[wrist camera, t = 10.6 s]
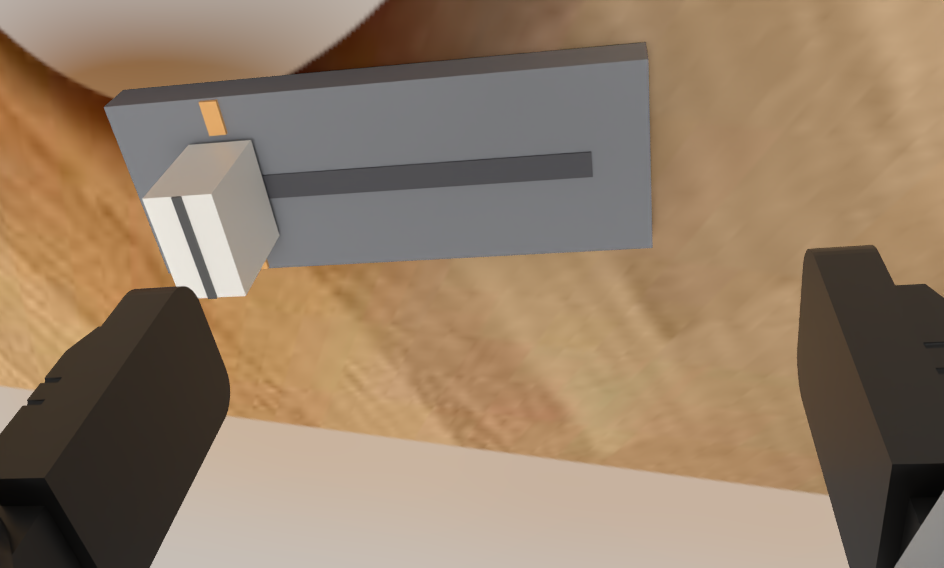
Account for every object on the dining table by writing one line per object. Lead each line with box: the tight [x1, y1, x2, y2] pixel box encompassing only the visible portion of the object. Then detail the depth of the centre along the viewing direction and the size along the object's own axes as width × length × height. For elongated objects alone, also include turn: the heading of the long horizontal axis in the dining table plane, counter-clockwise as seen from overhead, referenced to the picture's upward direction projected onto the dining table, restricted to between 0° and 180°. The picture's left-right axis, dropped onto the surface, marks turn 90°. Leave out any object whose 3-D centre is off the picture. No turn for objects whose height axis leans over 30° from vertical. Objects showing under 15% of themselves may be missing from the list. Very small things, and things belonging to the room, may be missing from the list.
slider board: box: [104, 42, 652, 273], centre depth 41 cm, size 24×9×2 cm, turn 97°
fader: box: [142, 140, 279, 299], centre depth 39 cm, size 3×5×5 cm, turn 7°
